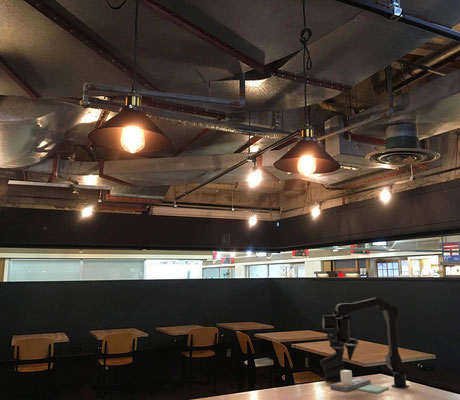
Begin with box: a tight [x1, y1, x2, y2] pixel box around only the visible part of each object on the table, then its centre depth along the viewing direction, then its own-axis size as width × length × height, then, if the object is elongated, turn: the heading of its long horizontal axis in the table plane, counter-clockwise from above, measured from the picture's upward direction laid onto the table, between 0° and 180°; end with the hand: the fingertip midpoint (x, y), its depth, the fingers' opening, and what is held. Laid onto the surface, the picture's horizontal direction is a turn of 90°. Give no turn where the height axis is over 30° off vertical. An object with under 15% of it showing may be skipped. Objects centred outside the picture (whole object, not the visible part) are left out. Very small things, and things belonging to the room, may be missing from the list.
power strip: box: [330, 377, 372, 393], centre depth 218 cm, size 28×9×3 cm, turn 135°
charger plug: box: [340, 369, 353, 385], centre depth 215 cm, size 4×4×8 cm
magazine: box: [319, 351, 346, 383], centre depth 230 cm, size 4×13×15 cm, turn 88°
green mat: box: [357, 384, 389, 394], centre depth 208 cm, size 12×10×1 cm
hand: (345, 360), depth 216 cm, fingers open, 9 cm apart
